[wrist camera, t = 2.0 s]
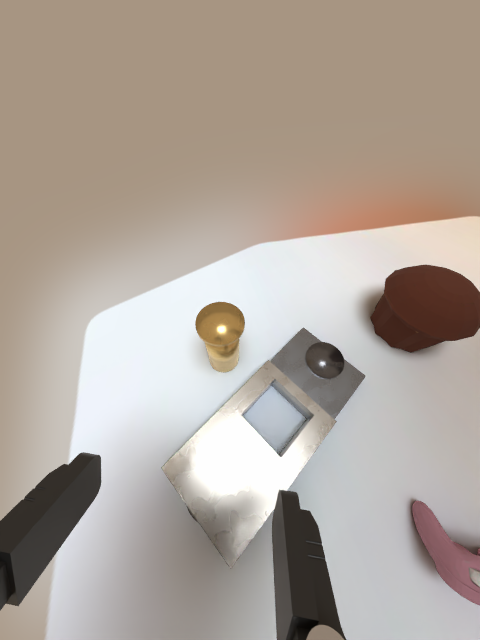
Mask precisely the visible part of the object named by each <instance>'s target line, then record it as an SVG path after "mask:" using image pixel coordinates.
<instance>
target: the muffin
mask: <svg viewBox="0 0 480 640" xmlns="http://www.w3.org/2000/svg"><path fill="white" fill-rule="evenodd" d="M370 318H371V320H372V323H373V325H374V329H375V333H376V334H377V335H378V336H380V337H381V338H382V339H384V340H385V341H386V342H387V343H388V344H389V345H390V346H391V347H394V348H399V349H402V350H405V351H408V352H411V353H412V352H414V351H417V350H420V349H423V348H427V347H430V346H432V345H435V344H438V343H441V342H443V341H455V340H460V339H464V338H468V337H472V336H474V335H475V334H476V332H477V331H478V329H479V328H480V292H479V291H478V289H477V288H476V287H475V286H474V284H473V283H472V282H471V281H470V280H468V279H467V278H465V277H464V276H463V275H461V274H459V273H457V272H454V271H452V270H450V269H447V268H443V267H437V266H431V265H419V266H413V267H407V268H403V269H400V270H395V271H394V272H393V273H392V274H391V275H390V276H389V277H388V278H386V281H385V290H384V294H383V296H382V297H381V299H380V301H379V302H378V304H377V306H376V308H375V311H374V312H373V314H372V316H371V317H370Z"/></svg>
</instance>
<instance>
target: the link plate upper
mask: <svg viewBox="0 0 480 640" xmlns="http://www.w3.org/2000/svg"><path fill="white" fill-rule="evenodd" d="M273 382H274V383H275V384H276V385H277V386H278V387H279V388H280V389H281V390H282V391H283V392H284V393H285V394H287V395H288V396H289V397H290V398H291V399H292V400H293V401H294V402H295V403H296V404H297V405H298V406H299V407H300V408H301V409H303V410H304V411H305V412H306V413H307V414H308V415H309V416H310V419H309V420H308V421H307V422H306V424H305V425H304V426H303V428H302V429H301V430H300V431H299V433H298V434H297V435H296V437H295V438H294V439H293V440H292V442H291V443H290V444H289V446H288V447H287V448H286V449H285V451H284V452H283V453H282V455H281V456H279V455H278V454H277V453H276V452H275V451H274V450H273V449H272V448H271V447H270V446H269V444H268V443H267V442H266V441H265V440H264V439H263V438H262V437H261V436H260V435H259V434H258V433H257V432H256V430H255V429H254V428H253V427H252V426H251V425H250V424H249V423H248V422H247V421H246V420H245V419H244V418H243V416H242V415H243V414H244V413H245V412H246V410H247V409H248V408H249V407H250V406H251V405H252V404H253V403H254V402H255V401H256V400H257V399H258V398H259V397H260V395H261V394H262V393H263V392H264V391H265V390H266V389H267V388H268V387H269V386H270V385H271V384H272V383H273ZM336 422H337V421H335V420H334V419H333V418H332V417H331V416H330V415H329V414H328V413H327V412H326V411H324V410H323V409H322V408H321V407H320V406H319V405H318V404H317V403H316V402H314V401H313V400H312V399H311V398H310V397H309V396H308V395H307V394H306V393H304V392H303V391H302V390H301V389H300V388H299V387H298V386H297V385H296V384H294V383H293V382H292V381H291V380H290V379H289V378H288V377H287V376H286V375H285V374H283V373H282V372H281V371H280V370H279V369H278V368H277V367H276V366H275V365H273V364H272V363H271V362H270V361H269V360H268V361H267V362H266V363H265V364H264V365H263V366H262V367H261V368H260V369H259V370H258V371H257V372H256V373H255V374H254V375H253V376H252V377H251V378H250V379H249V380H248V381H247V382H246V383H245V384H244V385H243V386H242V387H241V388H240V389H239V390H238V391H237V392H236V393H235V394H234V395H233V396H232V397H231V398H230V399H229V400H228V401H227V402H226V403H225V404H224V405H223V406H222V407H221V408H220V409H219V410H218V411H217V412H216V413H215V414H214V415H213V416H212V417H211V418H210V419H209V420H208V421H207V422H206V423H205V424H204V425H203V426H202V427H201V428H200V429H199V430H198V431H197V432H196V433H195V434H194V435H193V436H192V437H191V438H190V439H189V440H188V441H187V442H186V443H185V444H184V445H183V446H182V447H181V448H180V449H179V450H178V451H177V452H176V453H175V454H174V455H173V456H172V457H171V458H170V459H169V460H168V461H167V462H166V463H165V464H164V465H163V466H162V467H161V469H162V470H163V472H164V473H165V474H166V476H167V477H168V479H169V480H170V482H171V483H172V485H173V486H174V487H175V489H176V490H177V492H178V493H179V495H180V496H181V498H182V499H183V501H184V502H185V503H186V505H187V508H188V510H189V513H190V514H191V516H192V517H193V518H194V519H195V520H196V521H197V522H199V524H200V525H201V527H202V528H203V529H204V531H205V532H206V534H207V535H208V537H209V538H210V540H211V541H212V543H213V544H214V545H215V547H216V548H217V550H218V551H219V553H220V554H221V556H222V557H223V558H224V560H225V561H226V563H227V564H228V566H229V567H230V569H231V568H232V567H233V565H234V564H235V562H236V561H237V560H238V558H239V557H240V555H241V554H242V553H243V551H244V550H245V548H246V547H247V546H248V544H249V543H250V541H251V540H252V539H253V537H254V536H255V534H256V533H257V532H258V530H259V529H260V527H261V526H262V525H263V523H264V522H265V521H266V519H267V518H268V516H269V515H270V514H271V512H272V511H273V509H274V508H275V505H276V500H277V495H278V491H279V489H280V490H286V491H287V490H288V488H289V487H290V486H291V484H292V483H293V481H294V480H295V479H296V477H297V476H298V474H299V473H300V472H301V470H302V469H303V468H304V466H305V465H306V463H307V462H308V461H309V459H310V458H311V456H312V455H313V454H314V452H315V451H316V449H317V448H318V447H319V445H320V444H321V442H322V441H323V440H324V438H325V437H326V435H327V434H328V433H329V431H330V430H331V428H332V427H333V426H334V424H335V423H336Z"/></svg>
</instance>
